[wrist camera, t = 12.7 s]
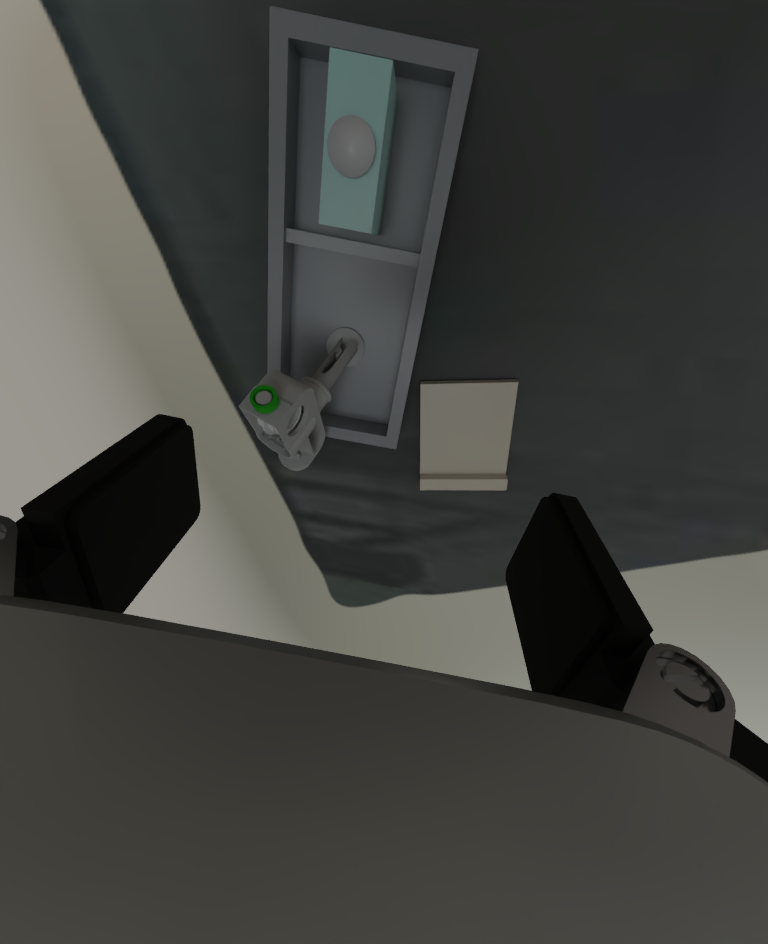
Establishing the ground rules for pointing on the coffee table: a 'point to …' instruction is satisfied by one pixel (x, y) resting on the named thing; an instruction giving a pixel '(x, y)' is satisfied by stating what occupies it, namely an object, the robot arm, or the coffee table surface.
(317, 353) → the housing
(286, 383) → the mechanical component
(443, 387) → the lid plate
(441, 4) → the coffee table surface
